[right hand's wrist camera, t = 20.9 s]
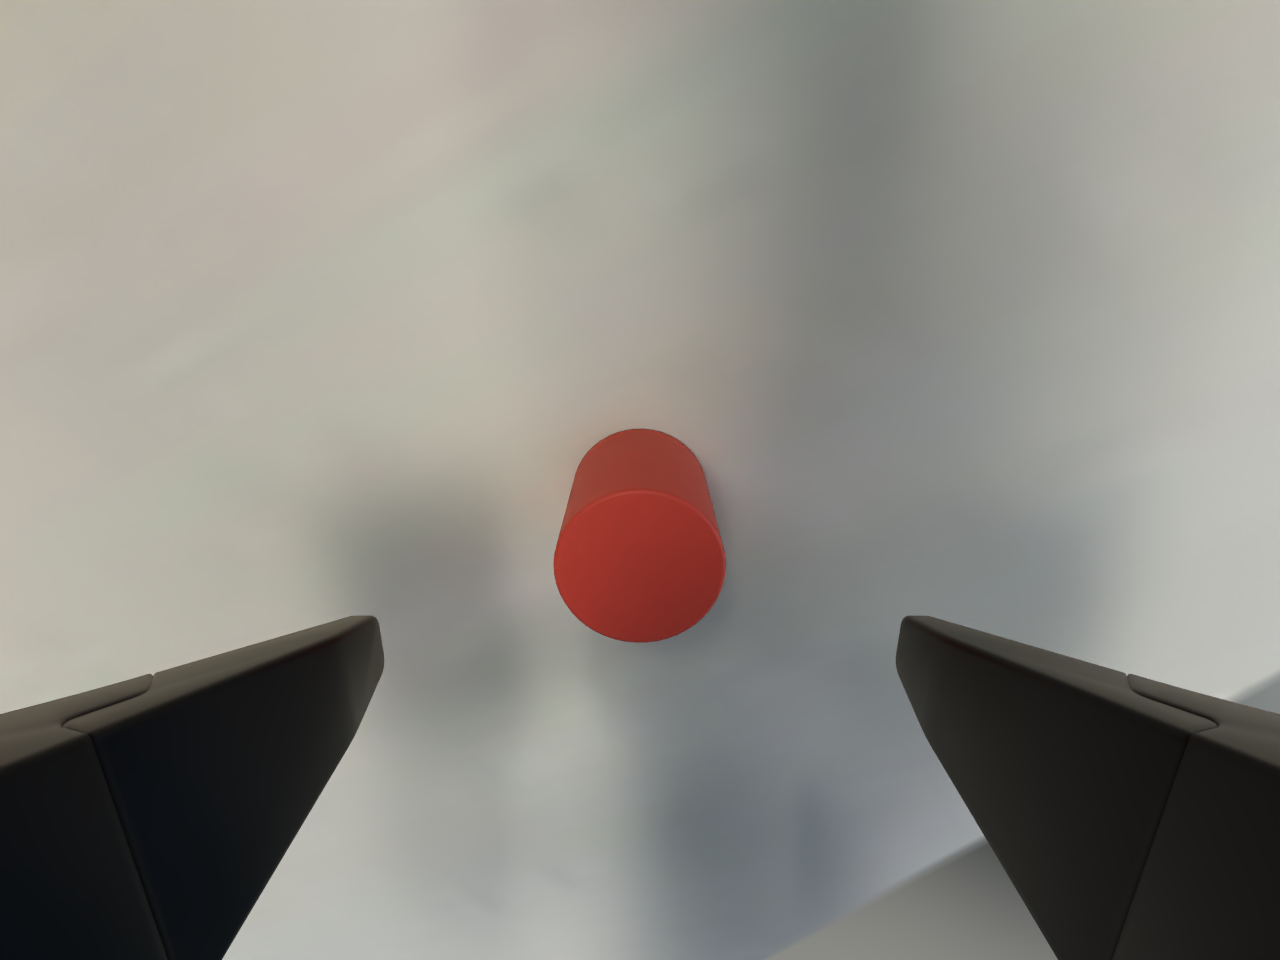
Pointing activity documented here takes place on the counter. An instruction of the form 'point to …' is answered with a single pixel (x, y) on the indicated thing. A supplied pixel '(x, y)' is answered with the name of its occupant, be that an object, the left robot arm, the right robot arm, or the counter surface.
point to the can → (639, 539)
